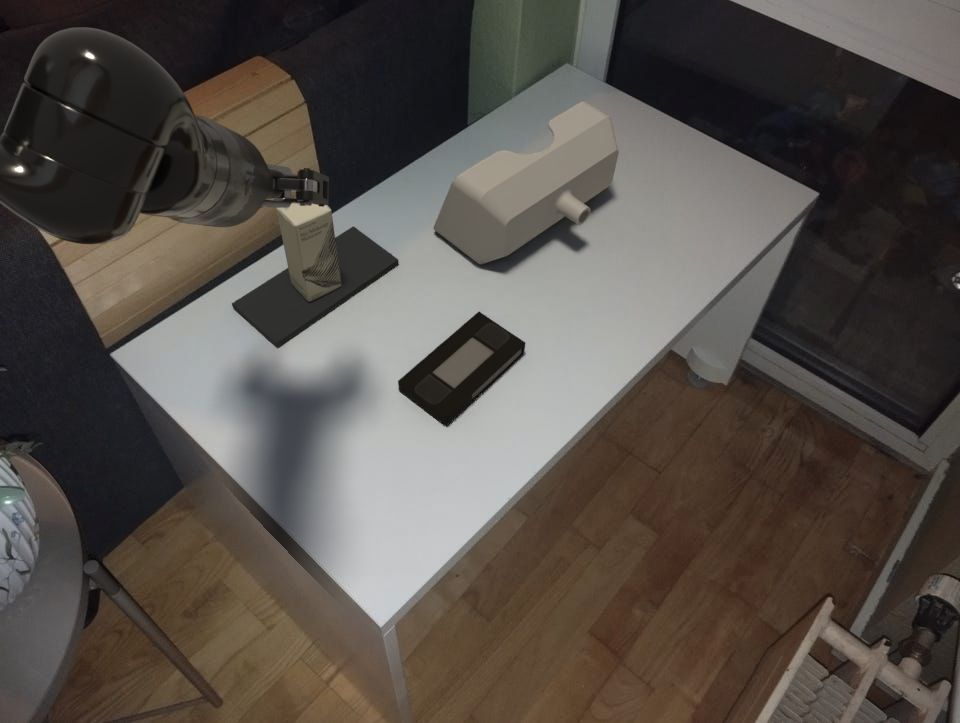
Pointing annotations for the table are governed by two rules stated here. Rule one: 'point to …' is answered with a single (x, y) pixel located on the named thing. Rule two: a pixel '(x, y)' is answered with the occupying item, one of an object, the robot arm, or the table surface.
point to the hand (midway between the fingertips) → (262, 191)
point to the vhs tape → (461, 368)
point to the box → (310, 249)
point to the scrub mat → (290, 313)
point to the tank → (530, 187)
